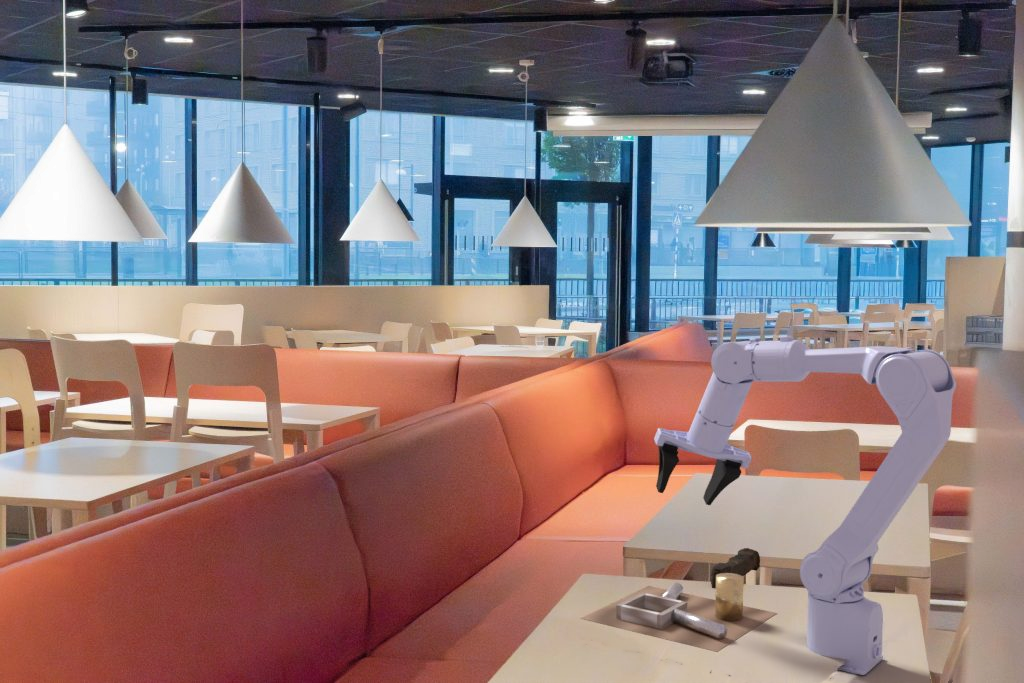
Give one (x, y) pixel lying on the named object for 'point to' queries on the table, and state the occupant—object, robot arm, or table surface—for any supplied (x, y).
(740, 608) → the brass cylinder
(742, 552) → the hand tool
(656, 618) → the plate
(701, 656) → the table surface
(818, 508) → the table surface
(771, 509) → the table surface
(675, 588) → the shaft
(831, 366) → the robot arm
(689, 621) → the shaft
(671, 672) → the table surface
